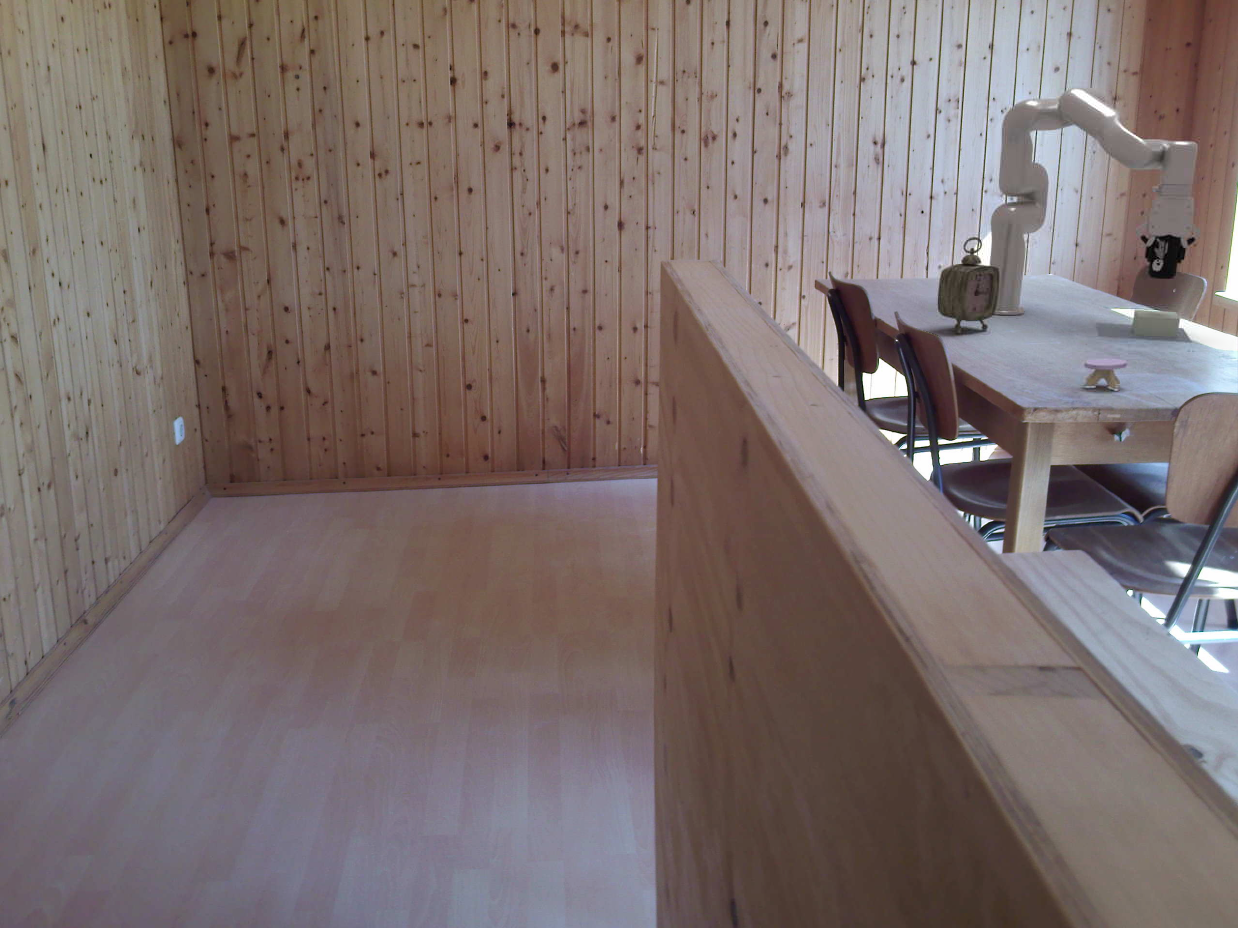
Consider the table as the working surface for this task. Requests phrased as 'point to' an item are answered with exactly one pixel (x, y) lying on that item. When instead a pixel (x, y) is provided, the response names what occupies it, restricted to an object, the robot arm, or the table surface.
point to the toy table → (1104, 371)
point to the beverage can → (1164, 257)
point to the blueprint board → (1128, 332)
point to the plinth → (1156, 323)
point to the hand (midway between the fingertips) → (1163, 261)
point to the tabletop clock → (968, 290)
